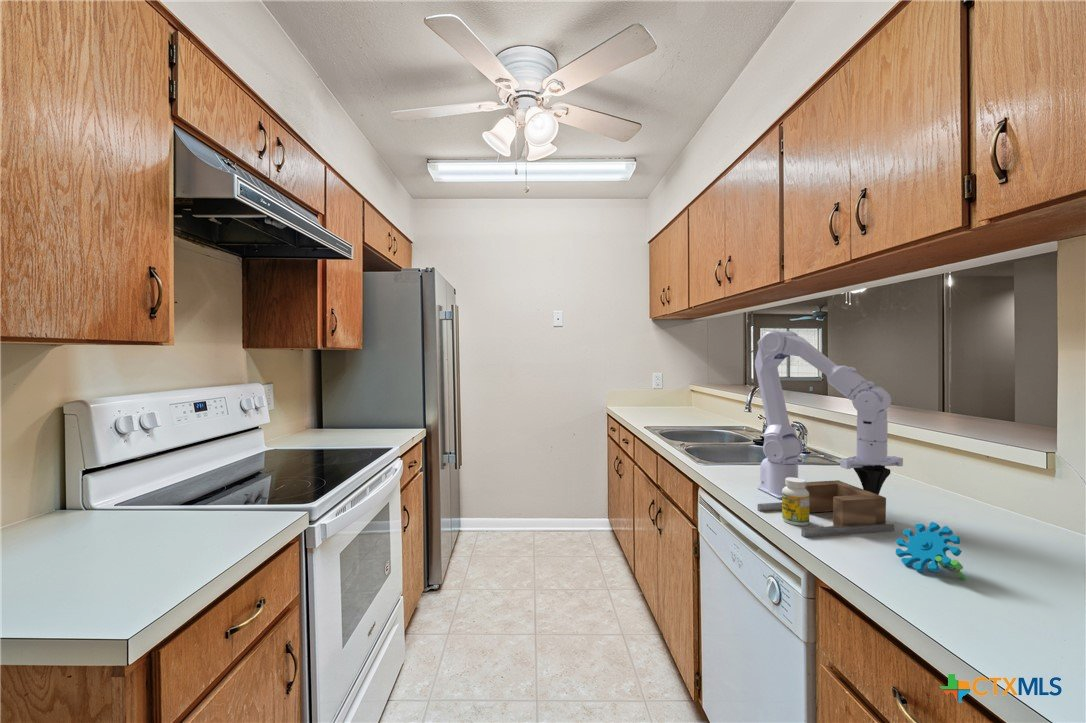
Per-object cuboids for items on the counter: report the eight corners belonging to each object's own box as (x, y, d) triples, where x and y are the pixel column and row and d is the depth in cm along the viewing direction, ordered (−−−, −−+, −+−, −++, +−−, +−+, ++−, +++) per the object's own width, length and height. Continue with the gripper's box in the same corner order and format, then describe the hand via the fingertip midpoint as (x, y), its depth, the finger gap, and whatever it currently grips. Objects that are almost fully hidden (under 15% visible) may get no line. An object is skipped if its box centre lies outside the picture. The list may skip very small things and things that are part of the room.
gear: (880, 544, 84) (924, 510, 83) (901, 564, 85) (945, 531, 83) (926, 582, 73) (977, 544, 72) (949, 605, 74) (1001, 568, 72)
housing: (799, 508, 107) (799, 482, 107) (838, 506, 108) (838, 480, 108) (842, 530, 94) (842, 500, 94) (885, 527, 96) (886, 497, 95)
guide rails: (757, 509, 107) (757, 503, 107) (835, 505, 110) (835, 499, 110) (804, 537, 91) (804, 530, 91) (894, 530, 94) (894, 523, 94)
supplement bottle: (815, 524, 98) (815, 481, 98) (796, 527, 96) (796, 484, 96) (794, 515, 103) (794, 475, 103) (776, 518, 102) (776, 477, 101)
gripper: (858, 444, 97) (857, 505, 97) (915, 441, 99) (915, 501, 99) (833, 438, 104) (832, 495, 104) (887, 435, 106) (886, 491, 106)
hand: (871, 497), depth 102 cm, fingers closed
